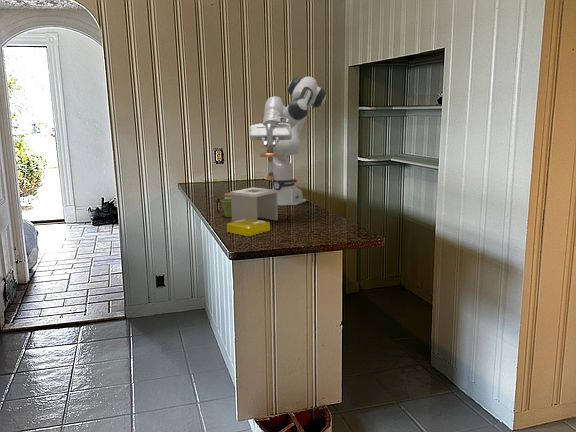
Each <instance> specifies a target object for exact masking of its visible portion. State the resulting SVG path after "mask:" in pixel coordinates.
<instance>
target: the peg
mask: <svg viewBox="0 0 576 432" xmlns="http://www.w3.org/2000/svg"><path fill="white" fill-rule="evenodd" d="M266 135H267V151H266V152H259V157H260V158H267V172H268V173H267V175H266V179H267V180H268V181H273V180H274V179H275V175H273V157H280V156H281V153H280V152H273V124H266Z"/></svg>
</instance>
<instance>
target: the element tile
mask: <svg viewBox="0 0 576 432" xmlns="http://www.w3.org/2000/svg"><path fill="white" fill-rule="evenodd" d="M267 231H268V232H271V222H270V221H266V220H262V219H258V220H256V219H250V218H248V219H243V220H239V221H235V222H232V221H230V222H228V223H226V233H228V232H230V233H229V234H232V233H234V235H237V234H239V235H238V236H242V235H244V236H243V237H253V235H254V236H256V234H257V235H261V234H263V232H264V233H267ZM260 233H261V234H260Z"/></svg>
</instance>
